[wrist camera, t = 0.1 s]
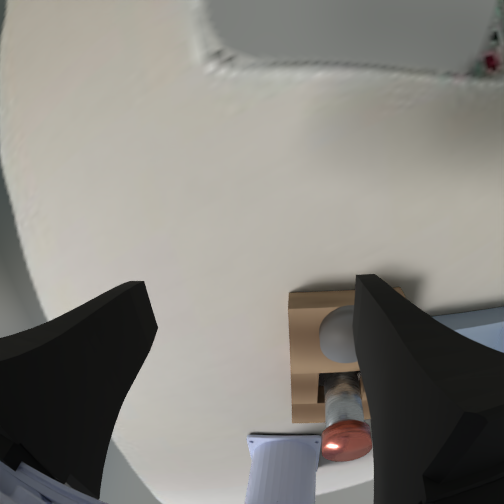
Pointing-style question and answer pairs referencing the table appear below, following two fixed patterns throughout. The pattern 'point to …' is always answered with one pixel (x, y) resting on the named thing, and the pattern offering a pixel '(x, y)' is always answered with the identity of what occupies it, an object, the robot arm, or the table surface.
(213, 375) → the table surface
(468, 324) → the tray
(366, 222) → the table surface
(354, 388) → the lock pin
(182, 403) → the table surface
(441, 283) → the table surface
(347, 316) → the wooden block with hole
